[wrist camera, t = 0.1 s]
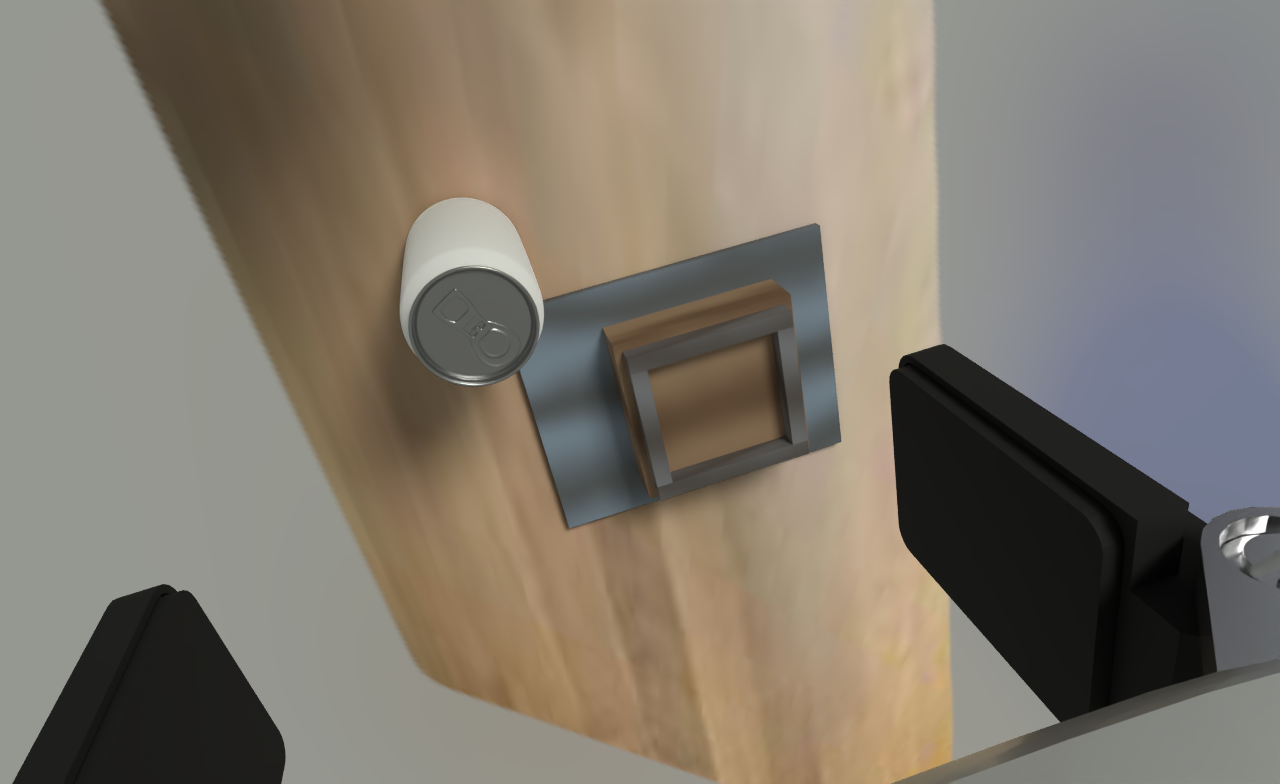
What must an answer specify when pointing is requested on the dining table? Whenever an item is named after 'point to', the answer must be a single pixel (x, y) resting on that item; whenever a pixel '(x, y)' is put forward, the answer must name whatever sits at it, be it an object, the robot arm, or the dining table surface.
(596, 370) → the board
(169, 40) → the dining table surface
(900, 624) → the dining table surface
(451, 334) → the can
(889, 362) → the dining table surface
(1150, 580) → the robot arm
